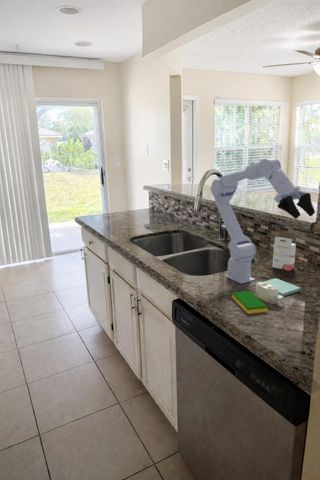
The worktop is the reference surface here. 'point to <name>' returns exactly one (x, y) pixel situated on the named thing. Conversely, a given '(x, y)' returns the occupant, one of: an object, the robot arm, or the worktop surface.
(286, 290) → the teal mat
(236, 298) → the dish sponge
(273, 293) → the white rounded piece
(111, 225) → the worktop surface
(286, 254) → the ink cartridge box
